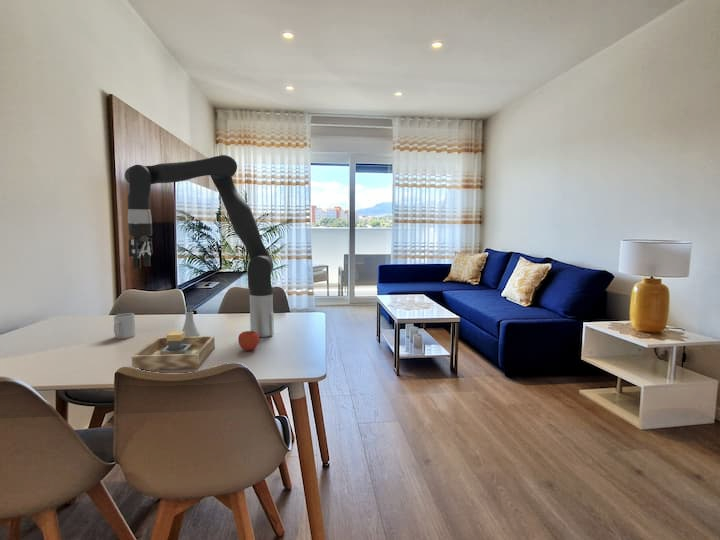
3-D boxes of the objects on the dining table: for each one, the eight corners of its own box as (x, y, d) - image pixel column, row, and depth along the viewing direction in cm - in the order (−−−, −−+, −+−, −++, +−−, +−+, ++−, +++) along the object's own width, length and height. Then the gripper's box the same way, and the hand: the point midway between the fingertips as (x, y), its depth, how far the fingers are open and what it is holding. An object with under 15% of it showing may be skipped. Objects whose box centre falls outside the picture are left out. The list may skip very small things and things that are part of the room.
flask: (192, 339, 165) (192, 314, 164) (176, 338, 166) (175, 313, 165) (203, 334, 172) (202, 311, 171) (187, 333, 173) (186, 310, 172)
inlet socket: (192, 352, 146) (192, 343, 145) (185, 359, 138) (185, 350, 137) (169, 352, 145) (168, 344, 144) (160, 360, 137) (160, 351, 136)
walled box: (214, 348, 153) (214, 336, 153) (198, 368, 131) (197, 354, 131) (158, 349, 151) (158, 337, 151) (132, 370, 129) (131, 356, 129)
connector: (172, 354, 143) (171, 331, 142) (185, 353, 144) (184, 331, 143) (167, 358, 139) (166, 335, 138) (181, 358, 139) (180, 334, 138)
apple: (242, 347, 155) (241, 326, 154) (261, 347, 155) (261, 326, 154) (235, 353, 148) (235, 331, 147) (256, 353, 147) (255, 331, 146)
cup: (139, 334, 171) (138, 313, 170) (124, 341, 161) (123, 318, 160) (122, 334, 171) (121, 313, 170) (106, 340, 161) (105, 318, 160)
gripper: (137, 222, 154) (139, 265, 155) (119, 222, 139) (122, 269, 141) (158, 222, 154) (160, 265, 156) (142, 222, 140) (145, 269, 142)
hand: (142, 267), depth 149 cm, fingers open, 8 cm apart
